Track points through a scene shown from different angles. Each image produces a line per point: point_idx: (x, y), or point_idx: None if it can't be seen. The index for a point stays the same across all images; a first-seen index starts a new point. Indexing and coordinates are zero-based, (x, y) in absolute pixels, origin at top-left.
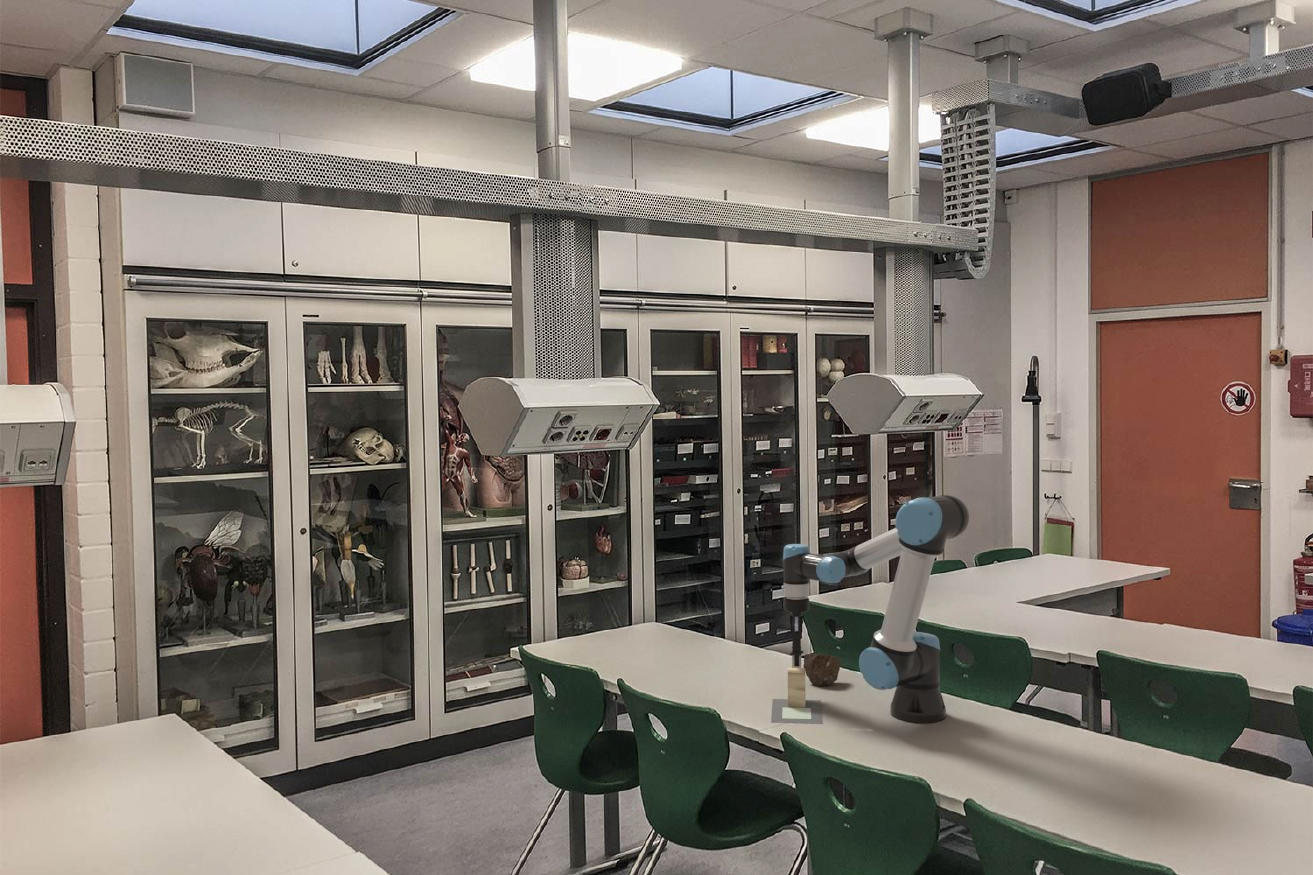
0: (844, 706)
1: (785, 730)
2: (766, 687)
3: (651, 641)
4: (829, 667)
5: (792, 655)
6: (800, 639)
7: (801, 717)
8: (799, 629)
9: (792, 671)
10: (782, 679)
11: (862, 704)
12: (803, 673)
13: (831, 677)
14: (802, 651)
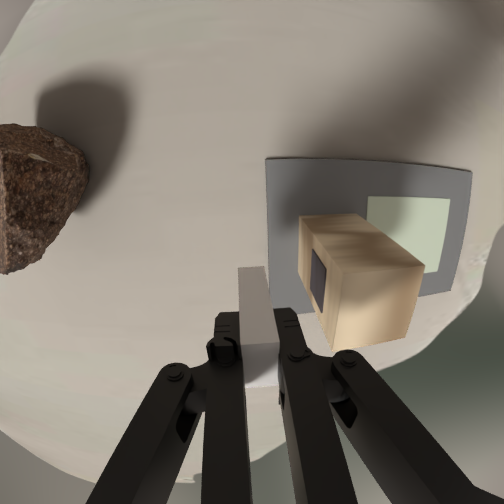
0: (314, 77)
1: (481, 255)
2: (143, 335)
3: (24, 434)
4: (40, 151)
5: (277, 380)
6: (433, 441)
7: (438, 224)
8: (490, 499)
9: (395, 323)
10: (58, 296)
11: (279, 20)
12: (421, 272)
13: (57, 142)
14: (231, 350)
